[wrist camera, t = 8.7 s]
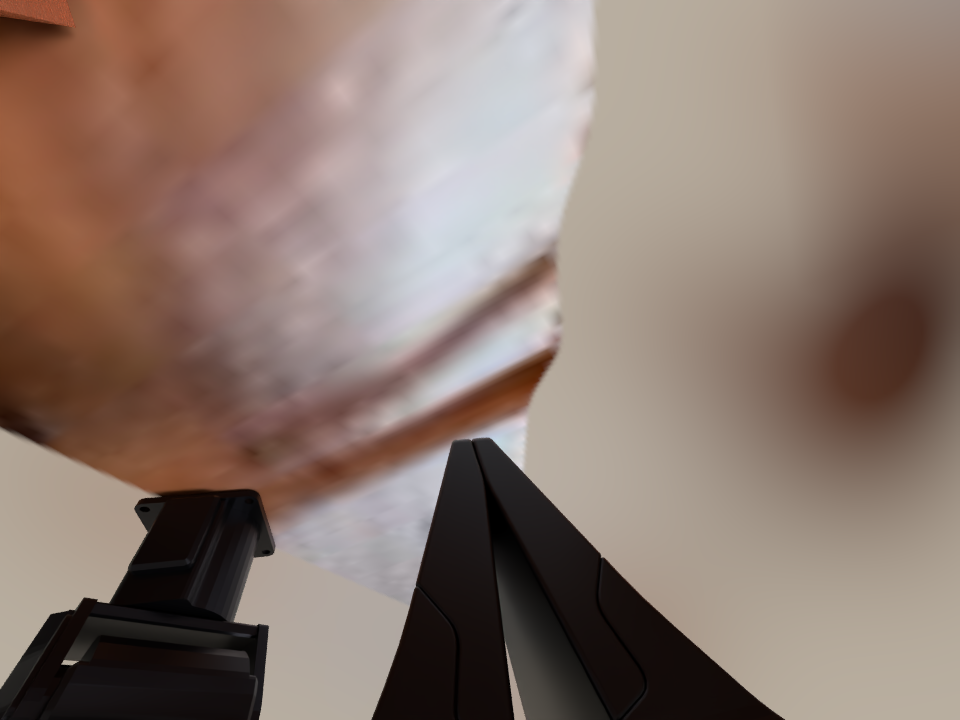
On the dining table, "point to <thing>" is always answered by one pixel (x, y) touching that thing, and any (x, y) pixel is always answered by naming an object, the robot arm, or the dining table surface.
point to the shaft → (38, 11)
